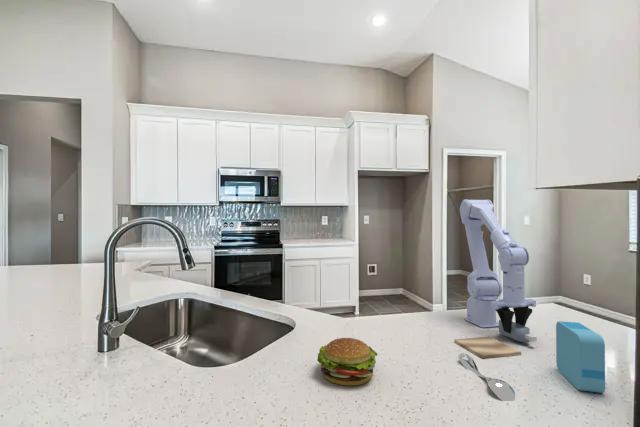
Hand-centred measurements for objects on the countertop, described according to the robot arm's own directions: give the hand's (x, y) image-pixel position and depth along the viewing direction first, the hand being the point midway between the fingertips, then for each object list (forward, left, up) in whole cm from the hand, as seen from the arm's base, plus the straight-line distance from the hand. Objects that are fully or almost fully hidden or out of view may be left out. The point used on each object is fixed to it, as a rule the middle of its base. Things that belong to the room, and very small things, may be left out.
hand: (513, 331), depth 101 cm
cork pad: (+4, -13, -3) cm, 14 cm away
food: (+10, -56, -3) cm, 57 cm away
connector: (+1, 0, -1) cm, 2 cm away
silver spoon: (+19, -26, -3) cm, 33 cm away
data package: (+25, -6, -3) cm, 26 cm away
